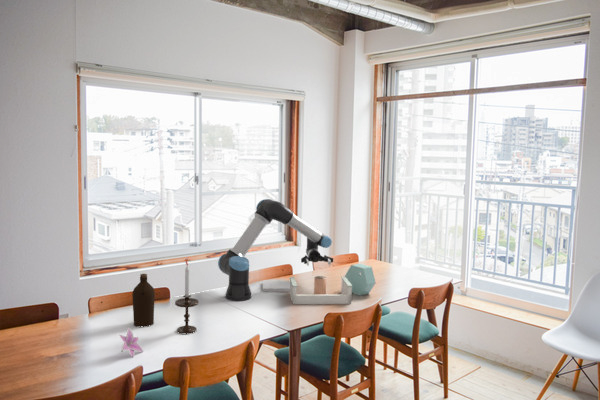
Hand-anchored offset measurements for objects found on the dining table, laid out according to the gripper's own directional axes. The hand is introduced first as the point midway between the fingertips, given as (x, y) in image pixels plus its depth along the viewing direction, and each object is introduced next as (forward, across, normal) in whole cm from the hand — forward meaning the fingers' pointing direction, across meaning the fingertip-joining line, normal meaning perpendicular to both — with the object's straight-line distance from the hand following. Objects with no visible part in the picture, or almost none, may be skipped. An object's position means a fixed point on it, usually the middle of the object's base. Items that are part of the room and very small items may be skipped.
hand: (319, 263), depth 301 cm
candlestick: (+59, +73, -18) cm, 95 cm away
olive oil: (+49, +95, -18) cm, 108 cm away
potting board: (-14, +25, -19) cm, 34 cm away
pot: (+10, +1, -19) cm, 22 cm away
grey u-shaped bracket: (+10, +1, -19) cm, 22 cm away
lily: (+85, +93, -18) cm, 127 cm away
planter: (-2, -26, -20) cm, 33 cm away
